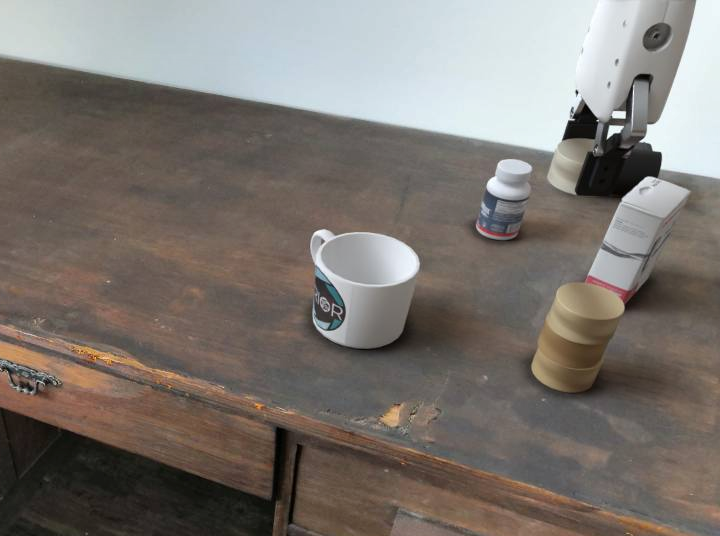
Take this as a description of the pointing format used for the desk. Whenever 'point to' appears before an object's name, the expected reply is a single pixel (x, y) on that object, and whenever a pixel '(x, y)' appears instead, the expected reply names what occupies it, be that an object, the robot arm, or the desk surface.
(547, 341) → the chip pile
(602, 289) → the maple chip
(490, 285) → the desk surface
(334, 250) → the mug
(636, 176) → the end cap
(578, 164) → the ash chip
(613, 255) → the ink box
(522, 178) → the pill bottle
